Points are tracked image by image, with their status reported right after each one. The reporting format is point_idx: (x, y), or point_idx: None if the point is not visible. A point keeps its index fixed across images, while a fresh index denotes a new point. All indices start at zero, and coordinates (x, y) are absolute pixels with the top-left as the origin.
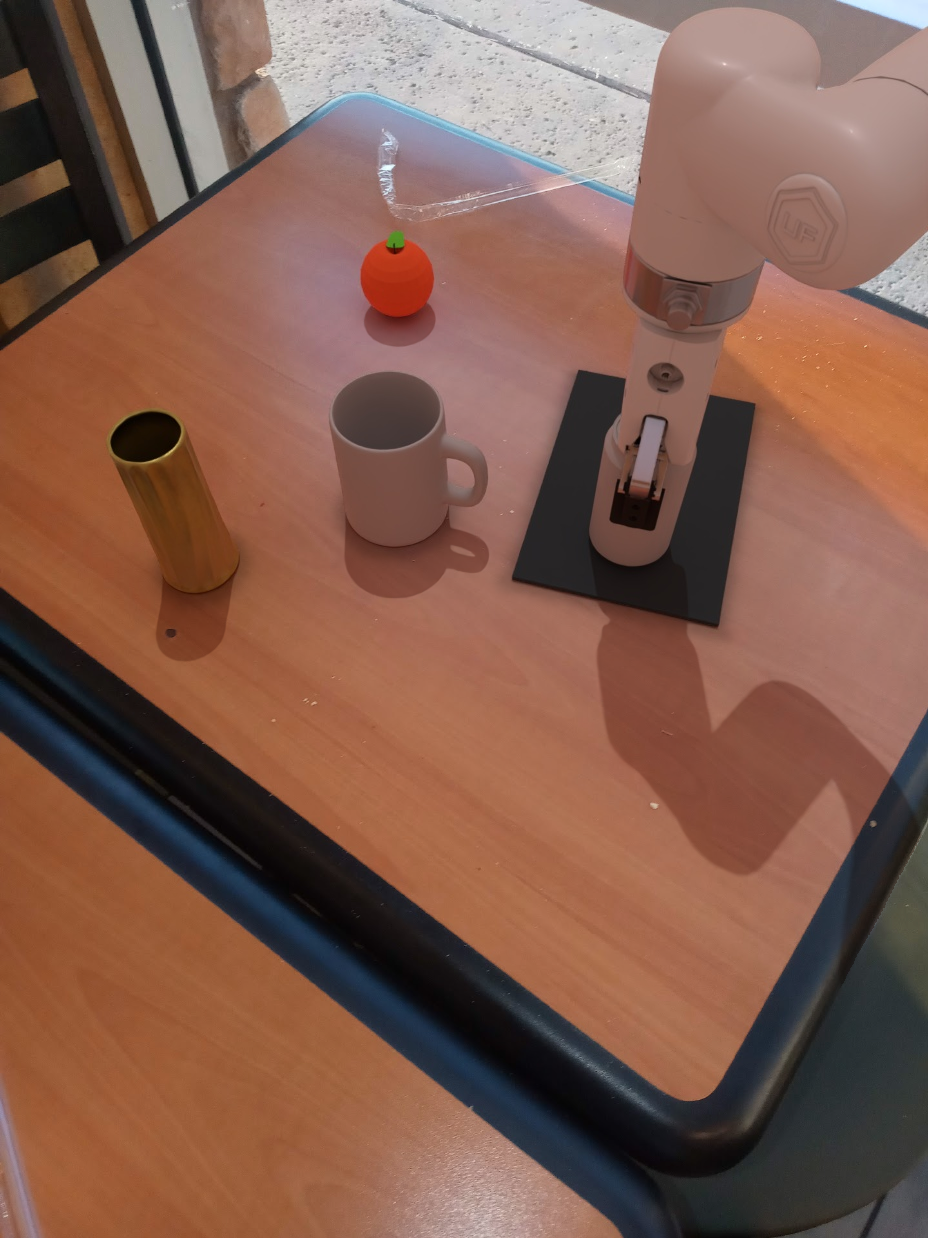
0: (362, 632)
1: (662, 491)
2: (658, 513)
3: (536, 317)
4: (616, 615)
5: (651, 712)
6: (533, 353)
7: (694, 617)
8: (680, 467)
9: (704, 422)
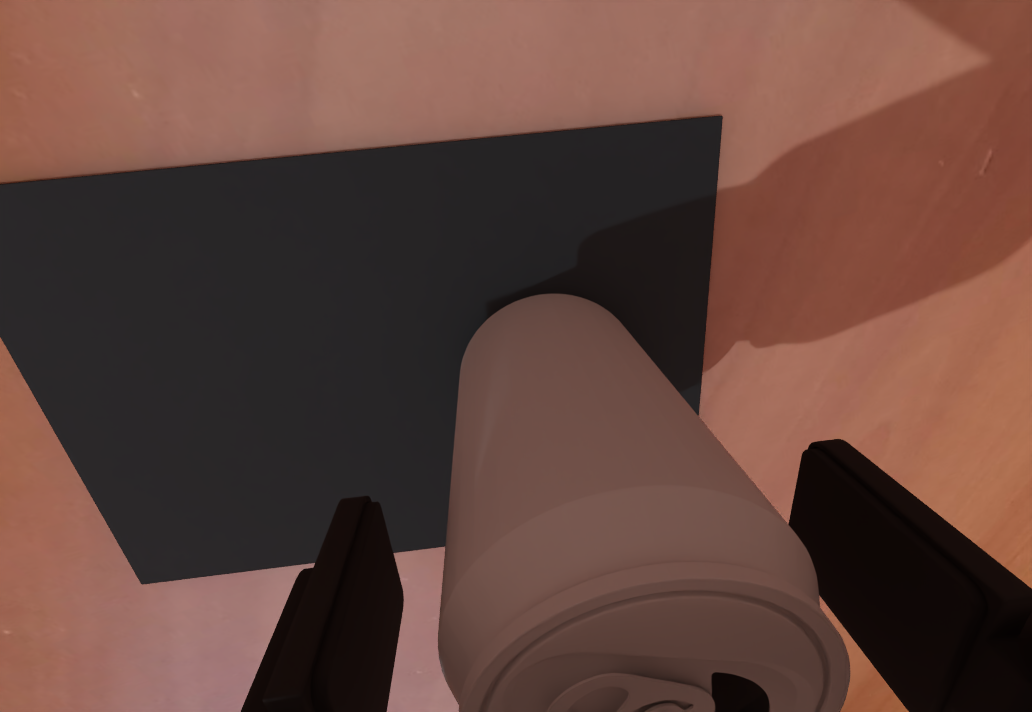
0: None
1: (1020, 604)
2: (916, 498)
3: (57, 676)
4: (726, 332)
5: (940, 205)
6: (155, 649)
7: (713, 179)
8: (764, 540)
9: (103, 310)
